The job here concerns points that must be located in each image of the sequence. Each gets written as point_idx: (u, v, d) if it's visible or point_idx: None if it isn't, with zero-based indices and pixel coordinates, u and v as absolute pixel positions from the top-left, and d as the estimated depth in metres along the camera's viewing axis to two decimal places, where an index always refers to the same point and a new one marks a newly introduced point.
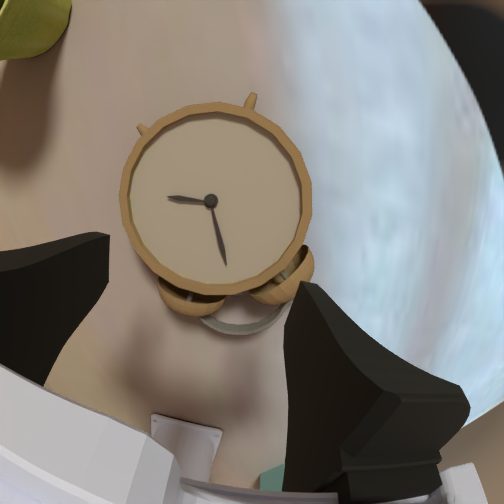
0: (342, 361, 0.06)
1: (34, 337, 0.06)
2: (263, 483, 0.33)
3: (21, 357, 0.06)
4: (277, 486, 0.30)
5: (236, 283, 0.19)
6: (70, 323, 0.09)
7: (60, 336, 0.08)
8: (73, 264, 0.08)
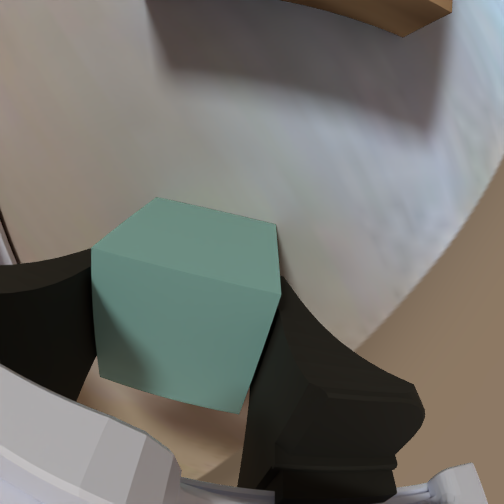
0: (285, 352, 0.06)
1: (70, 353, 0.07)
2: None
3: (57, 375, 0.06)
4: None
5: None
6: None
7: (93, 348, 0.08)
8: None
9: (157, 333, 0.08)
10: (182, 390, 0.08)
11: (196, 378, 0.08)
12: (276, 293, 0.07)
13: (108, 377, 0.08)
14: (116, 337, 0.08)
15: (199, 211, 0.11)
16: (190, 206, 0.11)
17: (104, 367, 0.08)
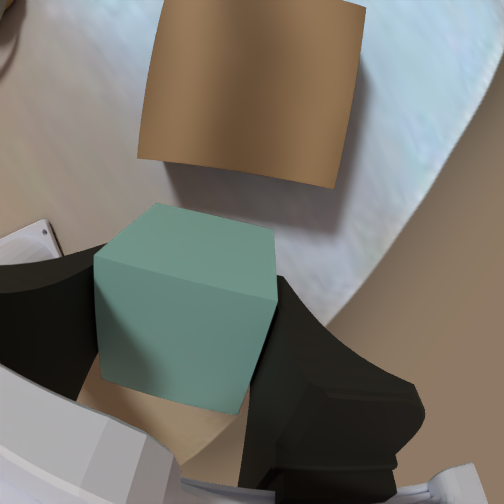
0: (285, 352, 0.06)
1: (70, 352, 0.07)
2: None
3: (57, 374, 0.06)
4: None
5: None
6: None
7: (92, 348, 0.08)
8: None
9: (158, 338, 0.08)
10: (182, 392, 0.09)
11: (196, 380, 0.08)
12: (273, 300, 0.07)
13: (110, 379, 0.09)
14: (117, 341, 0.08)
15: (198, 217, 0.11)
16: (190, 212, 0.11)
17: (106, 370, 0.09)
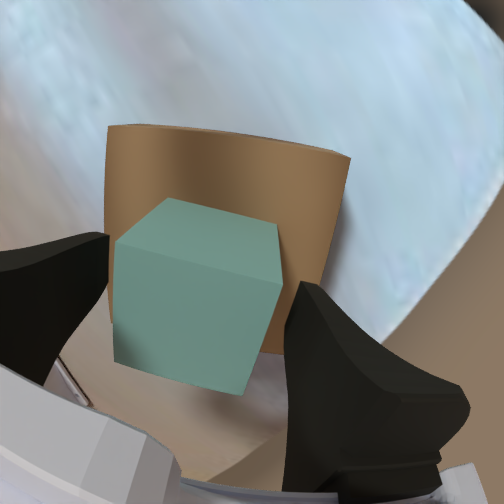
0: (342, 361, 0.06)
1: (34, 337, 0.06)
2: None
3: (21, 357, 0.06)
4: None
5: None
6: (70, 323, 0.09)
7: (60, 336, 0.08)
8: (73, 264, 0.08)
9: (172, 319, 0.09)
10: (191, 373, 0.10)
11: (205, 361, 0.09)
12: (278, 283, 0.08)
13: (122, 362, 0.10)
14: (133, 323, 0.09)
15: (207, 211, 0.12)
16: (199, 206, 0.12)
17: (119, 352, 0.09)
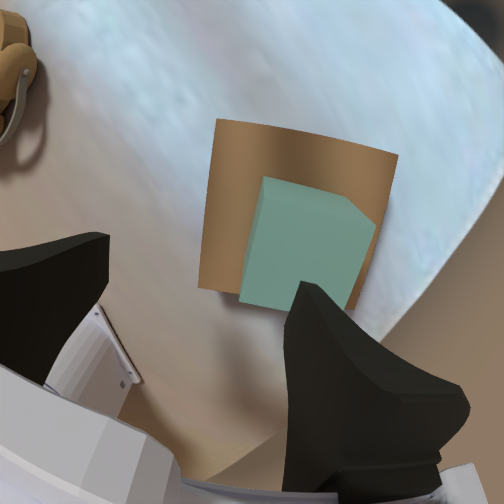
0: (342, 361, 0.06)
1: (34, 337, 0.06)
2: (245, 258, 0.16)
3: (21, 357, 0.06)
4: (257, 213, 0.13)
5: None
6: (70, 323, 0.09)
7: (60, 336, 0.08)
8: (73, 264, 0.08)
9: (299, 256, 0.12)
10: None
11: None
12: (373, 225, 0.12)
13: (246, 301, 0.13)
14: (266, 262, 0.12)
15: (298, 186, 0.16)
16: (290, 182, 0.16)
17: (246, 291, 0.13)
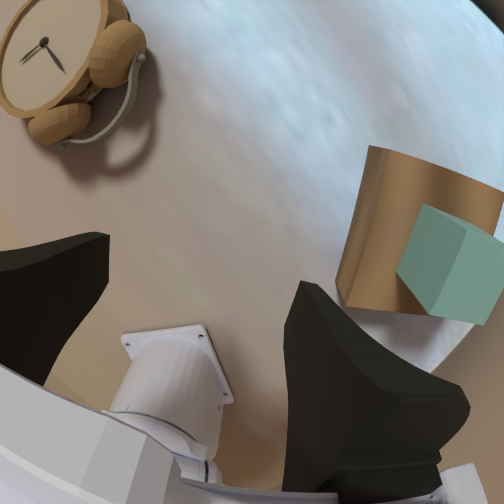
0: (342, 361, 0.06)
1: (34, 337, 0.06)
2: (412, 275, 0.16)
3: (21, 357, 0.06)
4: (442, 239, 0.14)
5: None
6: (70, 323, 0.09)
7: (60, 336, 0.08)
8: (73, 264, 0.08)
9: (476, 276, 0.12)
10: (468, 312, 0.13)
11: (478, 302, 0.13)
12: None
13: (434, 313, 0.13)
14: (456, 281, 0.13)
15: (448, 214, 0.16)
16: None
17: (436, 306, 0.13)
